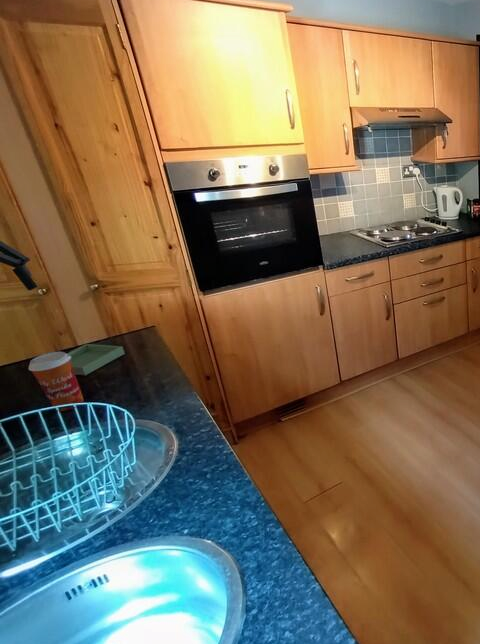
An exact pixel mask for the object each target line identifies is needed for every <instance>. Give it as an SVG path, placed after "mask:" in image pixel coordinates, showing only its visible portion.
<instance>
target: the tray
mask: <svg viewBox="0 0 480 644" xmlns="http://www.w3.org/2000/svg"><path fill="white" fill-rule="evenodd" d="M66 354H68V355H69V356H71V359H70V362H71V365H72V368H73V370H74V373H75V375H77V376H87V375H88V374H91V373H92V372H95V371H96V370H98V369H99V368H102V367H103V366H105V365H107V364H108V363H110V362H113V361H114V360H116V359H118V358H119V357H122V356H123V355H125V354H126V353H125V350H124V348H123V346H122V345H121V346H120V345H109V344H107V345H106V344H95V343H85V344H83V345H82V346H79V347H76V348H75V349H73V350H71V351H69V352H68V353H66Z"/></svg>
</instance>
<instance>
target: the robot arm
mask: <svg viewBox="0 0 480 644" xmlns="http://www.w3.org/2000/svg"><path fill="white" fill-rule="evenodd" d="M30 261H31V259H30V258H29V257H28V256H26V255H25V254H23V253H21V252H20V251H18V250H17V249H15V248H13V247H12V246H10V245H8V244H6V243H5V242H3V241H2V240H0V263H1V264H4V265H7V266H8V267H11V268H13V269H11V270H12V272H13V273H14V274H15V276H16V277H17V278H18V279H19V281H20V282H21V283H22V284H23V286H24V287H25V288H26V289H27V291H29V292H30V291H32V290H34V289H36V288H38V287H39V286H38V284H36V282H35V281H34V279H32V275H33V274H32V273H31V272H30V270H29V269H28V267H26V264H27V263H28V262H30Z"/></svg>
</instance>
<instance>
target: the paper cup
mask: <svg viewBox="0 0 480 644" xmlns="http://www.w3.org/2000/svg"><path fill="white" fill-rule="evenodd" d="M70 359H71V356H69V355H68V354H67V353H66V352H65V351H53V352H52V351H51V352H47V353H45V354H41V355H38V356H36V357H34V358H32V359H31V360H30V361H29V364H28V367H27V368H28V371H31V373H32V374H33V376H34V378H35V380H36V381H37V383H38V384H39V386H40V388H41V389H42V390H43V392H44V394H45V395H46V397H47V399H48V401H49V402H50V404H51V406H52V407H53V406H56V405H62V404H68V403H78V402H79V403H80V402H83V403H84V401H85V400H84V396H83V393H82V390H81V387H80V385H79V381H78V379H77V377H76V374H75V373H74V370H73V368H72V365H71V362H70ZM75 408H76V407H67V408H62V409H60V411H59V412H64V411H69V410H72V409H75Z"/></svg>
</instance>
